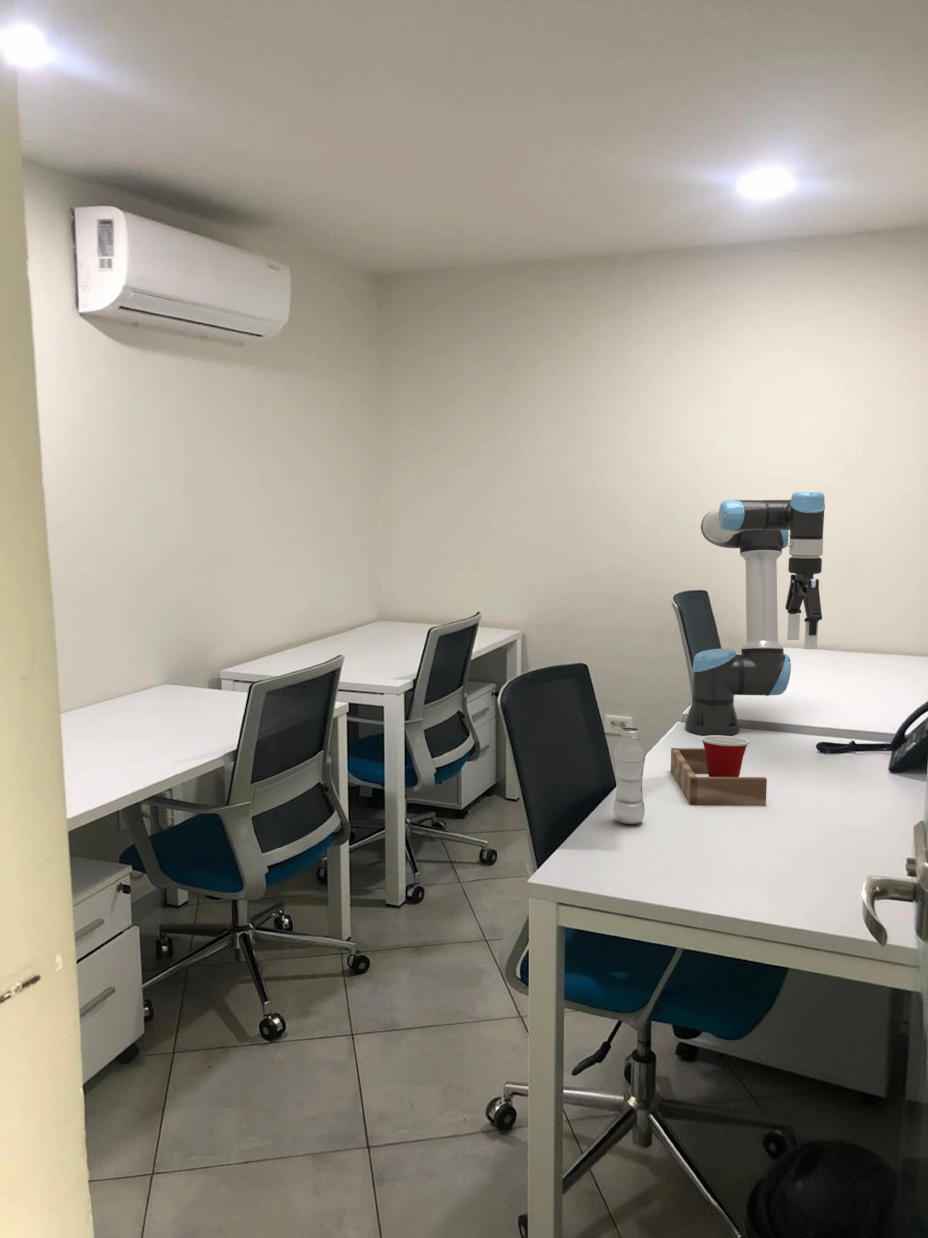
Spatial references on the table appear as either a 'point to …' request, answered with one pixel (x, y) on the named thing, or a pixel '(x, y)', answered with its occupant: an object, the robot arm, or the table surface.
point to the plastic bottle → (629, 778)
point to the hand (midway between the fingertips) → (801, 644)
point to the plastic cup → (724, 755)
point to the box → (713, 782)
